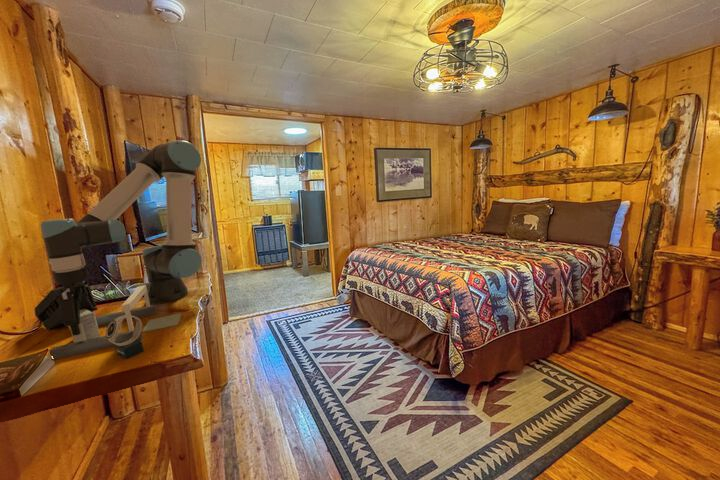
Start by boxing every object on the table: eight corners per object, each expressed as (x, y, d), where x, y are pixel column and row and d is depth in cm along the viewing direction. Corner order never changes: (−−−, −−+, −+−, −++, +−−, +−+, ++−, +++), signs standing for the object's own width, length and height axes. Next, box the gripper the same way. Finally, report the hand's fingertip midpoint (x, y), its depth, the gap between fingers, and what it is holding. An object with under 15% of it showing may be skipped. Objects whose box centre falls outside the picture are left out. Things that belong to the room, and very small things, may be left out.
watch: (108, 358, 82) (99, 321, 80) (140, 344, 89) (133, 309, 87) (118, 363, 79) (108, 325, 77) (150, 348, 86) (143, 312, 84)
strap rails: (157, 312, 113) (155, 304, 113) (141, 339, 92) (139, 330, 91) (87, 326, 105) (85, 318, 104) (51, 360, 83) (48, 350, 83)
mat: (181, 314, 110) (181, 313, 109) (177, 324, 101) (177, 323, 100) (149, 320, 106) (149, 319, 106) (142, 332, 97) (142, 331, 97)
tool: (80, 321, 100) (52, 285, 99) (52, 347, 105) (25, 313, 105) (99, 313, 106) (73, 280, 105) (71, 338, 111) (46, 306, 110)
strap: (152, 304, 112) (148, 282, 111) (136, 330, 91) (130, 303, 89) (145, 305, 111) (140, 283, 110) (126, 332, 90) (120, 305, 89)
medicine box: (100, 337, 95) (94, 312, 94) (82, 344, 92) (75, 318, 90) (92, 332, 100) (86, 308, 98) (74, 338, 96) (68, 313, 95)
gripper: (70, 264, 100) (86, 326, 104) (33, 280, 80) (54, 356, 84) (98, 260, 103) (113, 321, 107) (68, 275, 83) (88, 349, 87)
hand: (87, 336), depth 96 cm, fingers closed on medicine box, 9 cm apart
